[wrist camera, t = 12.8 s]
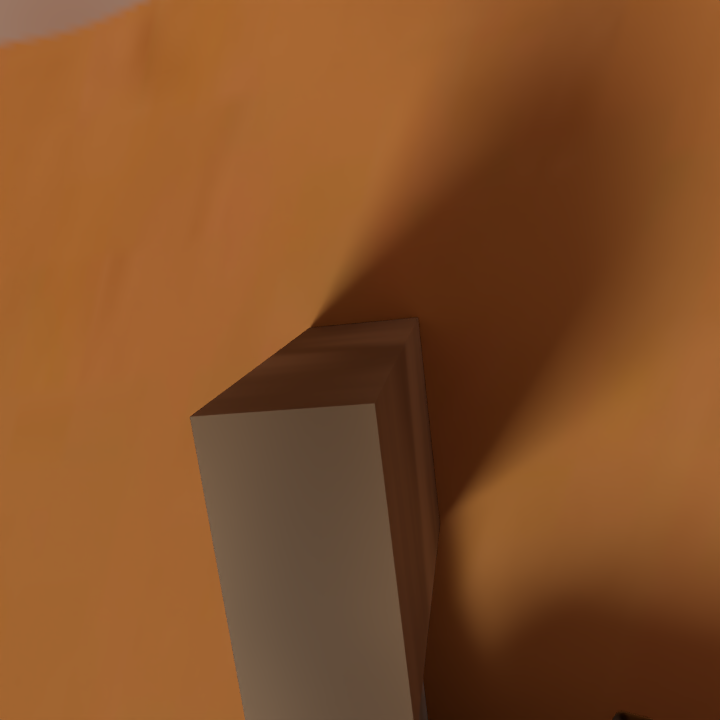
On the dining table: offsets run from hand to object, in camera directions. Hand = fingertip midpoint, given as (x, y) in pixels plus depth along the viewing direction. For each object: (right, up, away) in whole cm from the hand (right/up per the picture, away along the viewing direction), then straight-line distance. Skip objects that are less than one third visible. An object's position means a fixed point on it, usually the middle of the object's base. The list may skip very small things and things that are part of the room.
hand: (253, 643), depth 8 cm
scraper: (+2, -4, +11) cm, 12 cm away
